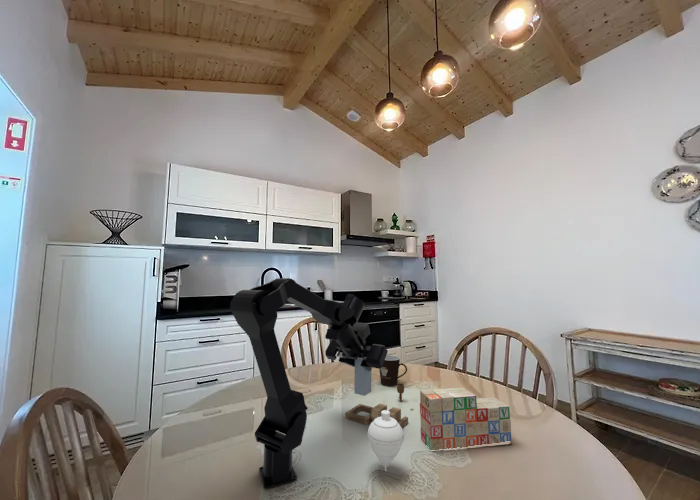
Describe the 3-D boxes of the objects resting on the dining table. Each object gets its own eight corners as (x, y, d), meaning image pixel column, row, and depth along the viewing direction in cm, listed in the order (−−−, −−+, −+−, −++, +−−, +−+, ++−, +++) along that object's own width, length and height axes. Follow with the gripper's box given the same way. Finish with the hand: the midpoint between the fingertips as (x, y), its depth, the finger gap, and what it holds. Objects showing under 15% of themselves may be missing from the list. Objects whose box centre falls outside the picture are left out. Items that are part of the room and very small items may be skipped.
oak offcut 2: (393, 430, 81) (393, 415, 81) (385, 428, 82) (385, 412, 82) (401, 423, 85) (400, 408, 85) (393, 421, 86) (393, 406, 86)
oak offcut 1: (378, 426, 83) (378, 411, 83) (371, 423, 84) (371, 409, 85) (387, 419, 87) (387, 405, 88) (379, 417, 88) (379, 403, 89)
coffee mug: (374, 381, 120) (374, 356, 121) (392, 379, 124) (392, 354, 125) (389, 391, 110) (389, 363, 111) (409, 388, 113) (408, 361, 114)
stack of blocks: (495, 433, 80) (494, 385, 81) (512, 446, 74) (509, 393, 75) (420, 439, 76) (419, 389, 78) (430, 453, 70) (429, 398, 72)
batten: (364, 395, 87) (364, 351, 88) (354, 393, 89) (354, 349, 90) (371, 391, 90) (371, 349, 91) (361, 389, 92) (361, 347, 93)
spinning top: (400, 460, 67) (399, 404, 68) (407, 483, 59) (407, 419, 61) (365, 460, 67) (366, 404, 68) (369, 483, 59) (369, 419, 60)
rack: (395, 434, 79) (395, 428, 79) (345, 418, 88) (345, 412, 88) (408, 422, 85) (408, 417, 85) (359, 408, 94) (359, 403, 94)
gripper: (384, 316, 84) (401, 350, 91) (331, 312, 94) (350, 342, 102) (370, 350, 76) (389, 384, 84) (314, 341, 87) (336, 372, 94)
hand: (365, 368), depth 91 cm, fingers closed on batten, 3 cm apart
